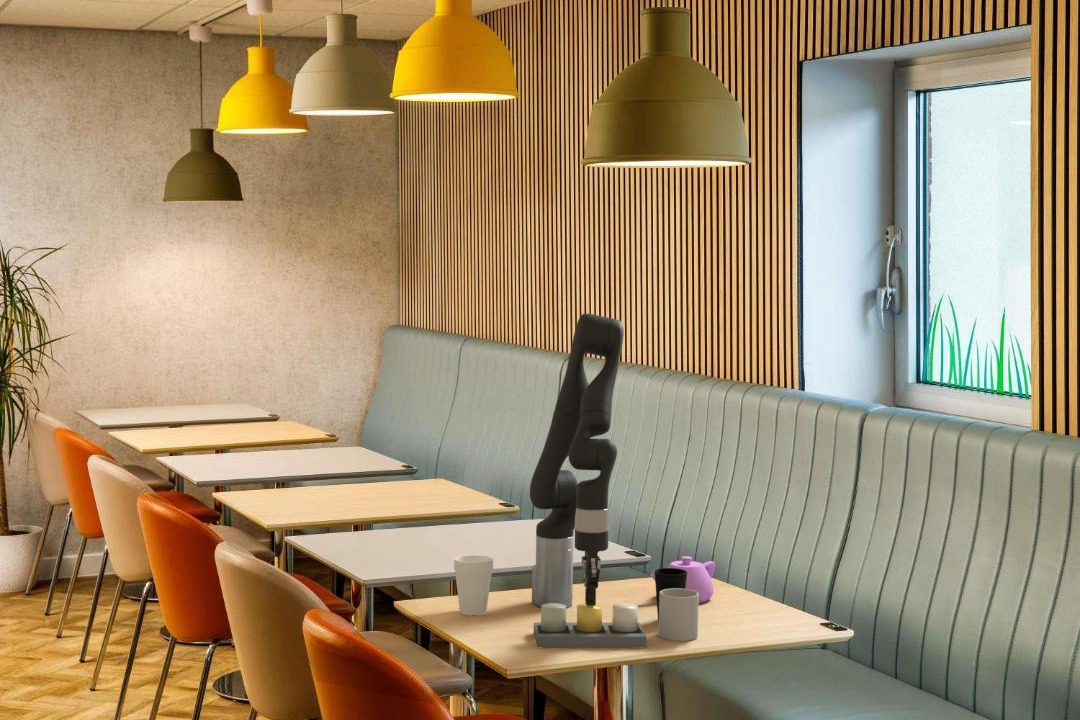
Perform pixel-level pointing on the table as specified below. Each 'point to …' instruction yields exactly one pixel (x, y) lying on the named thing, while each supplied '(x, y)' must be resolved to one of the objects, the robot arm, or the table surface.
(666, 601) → the mug
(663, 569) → the cup
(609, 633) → the grey compartment tray
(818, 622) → the table surface
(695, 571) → the teapot
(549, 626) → the sage button
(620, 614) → the offwhite button
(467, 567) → the foam cup
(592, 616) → the mustard button
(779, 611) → the table surface
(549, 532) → the robot arm
